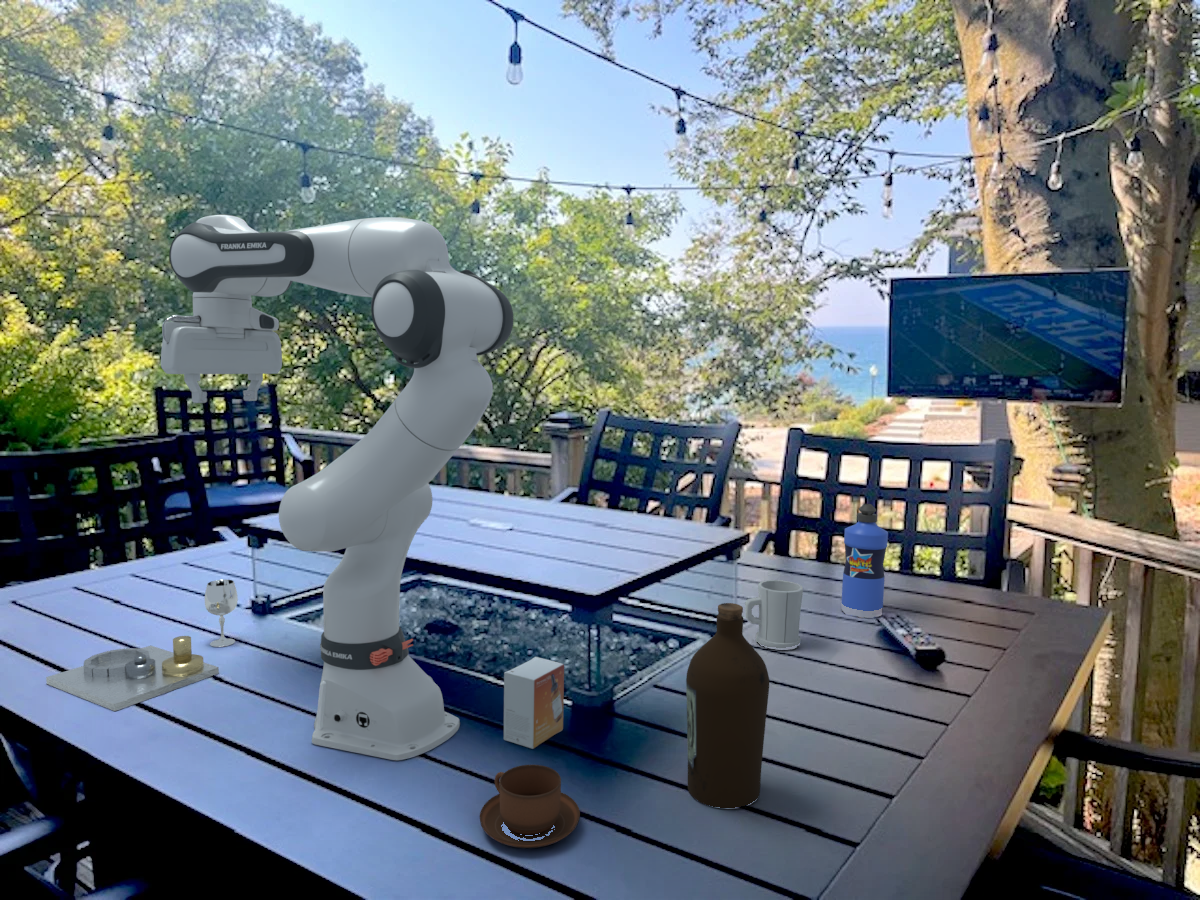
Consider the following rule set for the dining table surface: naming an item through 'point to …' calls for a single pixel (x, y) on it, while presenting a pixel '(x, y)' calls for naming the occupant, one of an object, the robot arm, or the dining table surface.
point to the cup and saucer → (529, 807)
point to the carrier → (124, 677)
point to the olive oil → (726, 715)
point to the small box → (533, 702)
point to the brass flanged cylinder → (182, 659)
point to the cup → (777, 613)
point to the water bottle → (864, 562)
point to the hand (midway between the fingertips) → (225, 401)
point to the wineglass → (221, 605)
